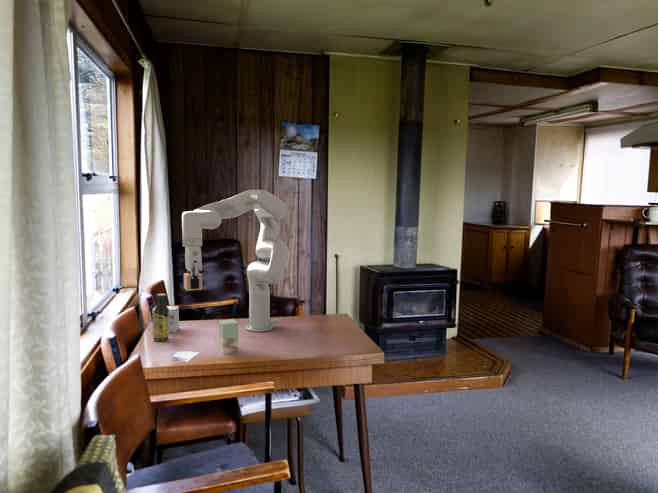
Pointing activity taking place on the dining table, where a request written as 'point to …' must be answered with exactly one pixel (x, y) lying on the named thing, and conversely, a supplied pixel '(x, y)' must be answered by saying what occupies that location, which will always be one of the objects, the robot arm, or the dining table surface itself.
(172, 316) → the light bulb box
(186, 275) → the light brown cube
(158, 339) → the sauce bottle
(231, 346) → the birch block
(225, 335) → the sage block
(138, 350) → the dining table surface
